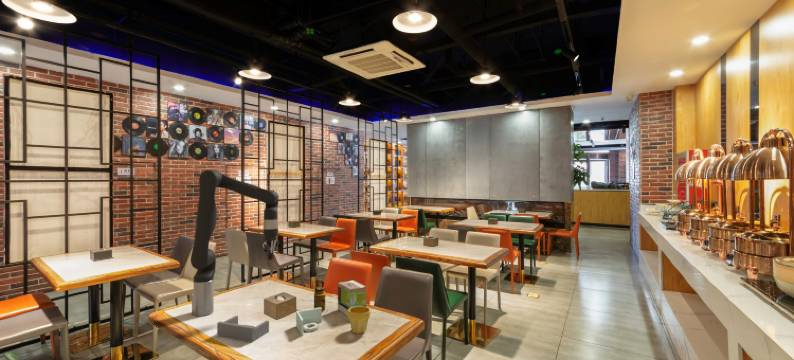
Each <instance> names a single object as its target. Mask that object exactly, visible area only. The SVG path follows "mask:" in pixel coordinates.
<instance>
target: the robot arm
mask: <svg viewBox="0 0 794 360" xmlns="http://www.w3.org/2000/svg"><path fill="white" fill-rule="evenodd" d="M217 188H220V189H226V190H229V191H231V192H234V193H237V194H239V195H241V196H243V197H246V198H250V199H254V200H257V201H259V202H262V203H263V204H265V205H264V206H265V208H264V210H263V222H262V224H263V225H262V227H263V228H262V229H263V230H262V231H263V233H262V235H263V237H264V241H263V243H262V244H261V246H260V247H261V248H262V250H263V251H264V253H267V260H268V261H273V259H274V252H276V251H277V249H278V247H279V245H280V240H278V238H277V237H278V236H279V221H278V219H279V218H278V217H279V216H278V207H279V200H280V199H279V194H278V192H277V191H276V190H270V189H269V190H268V189H265V188H262V187H260V186H258V185H255V184H252V183H248V182H245V181H241V180H238V179H235V178H232V177H231V176H230V177H229V176H228V175H225V174H223V173H221V172H219V171H218V170H216V169H206V170H204V171H202V172H201V173H200V175H199V178H198V191H199V195H198V202H197V203H198V204H197V212H196V218H195V219H196V221H195V231H194V241H193V247H192V249H191V250H192V252H191V254H190V255H191V256H190V264H191V266H192V267H193V268H194V269H196V270H197V271H196V272H195V274H194V275H193V294H192V296H191V315H193V316H195V317H204V316H209V315H210V314H212V313H214V302H215V301H214V292H215V290H214V288H215V287H214V286H215V285H214V278H215V277H214V276H215V274H216V263H217V262H216V261H217V257H216V253H215V251H214V250H213V249H211V248H209V247H210V245H209V244H210V242H211V241H210V240H211V238H212V236H213V233H214V231H215V229H216V226H217V219H218V210H217V204H216V198H215V197H216V196H215V195H216V190H217Z"/></svg>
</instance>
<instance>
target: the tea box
mask: <svg viewBox="0 0 794 360" xmlns="http://www.w3.org/2000/svg"><path fill="white" fill-rule="evenodd" d="M355 306H365V307H367V286H366V285H364V284H362V283H360V282H358V281H356V280H348V281H341V282H338V283H337V310H338V311H339V312H341V313H343V314H344V315H345V316H347V317H348V309H349V308H351V307H355Z"/></svg>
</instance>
